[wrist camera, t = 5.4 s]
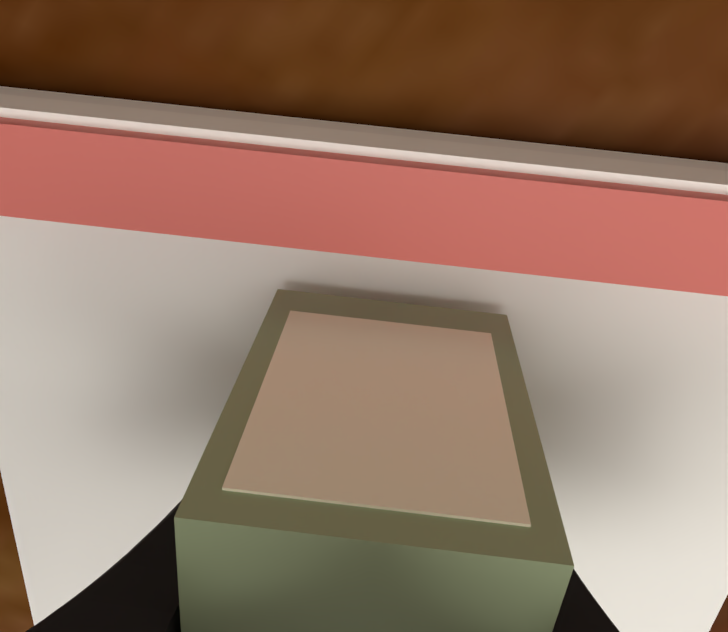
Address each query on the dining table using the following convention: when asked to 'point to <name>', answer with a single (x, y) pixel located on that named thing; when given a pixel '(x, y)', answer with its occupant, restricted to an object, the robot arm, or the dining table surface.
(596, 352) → the shelf board
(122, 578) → the robot arm
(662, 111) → the dining table surface
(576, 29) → the dining table surface
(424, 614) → the carton
